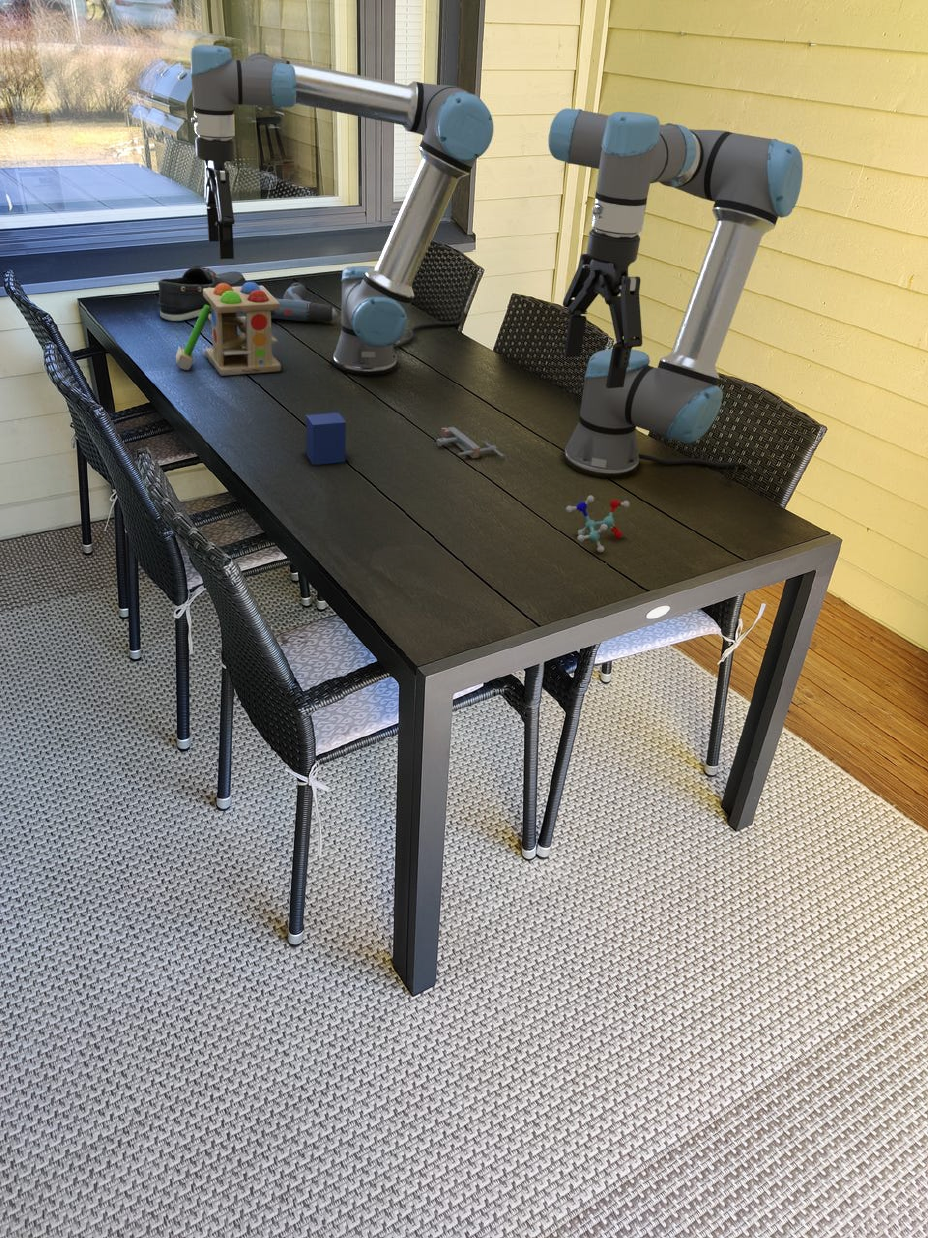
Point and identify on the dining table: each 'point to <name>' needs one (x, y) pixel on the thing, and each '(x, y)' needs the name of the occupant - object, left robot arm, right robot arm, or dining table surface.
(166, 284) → the boat shoe
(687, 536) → the dining table surface
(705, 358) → the right robot arm
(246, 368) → the pounding bench toy
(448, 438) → the clamp
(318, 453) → the block
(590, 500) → the molecular model
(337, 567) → the dining table surface
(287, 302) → the power drill
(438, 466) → the dining table surface
